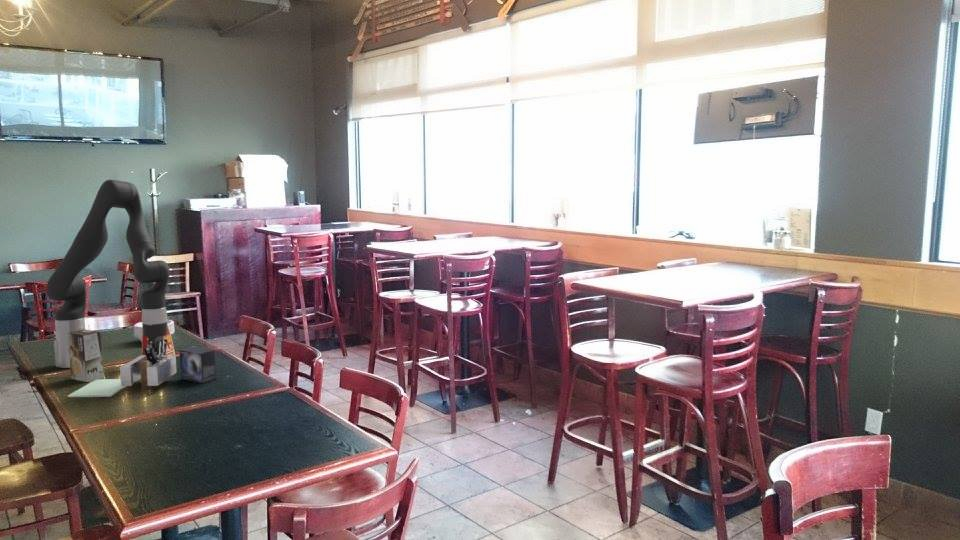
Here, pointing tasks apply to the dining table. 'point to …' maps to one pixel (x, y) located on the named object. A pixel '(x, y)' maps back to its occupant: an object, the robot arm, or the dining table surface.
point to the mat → (99, 388)
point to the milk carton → (169, 344)
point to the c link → (148, 370)
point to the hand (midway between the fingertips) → (157, 371)
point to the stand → (144, 374)
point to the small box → (198, 364)
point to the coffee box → (85, 355)
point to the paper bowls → (139, 327)
